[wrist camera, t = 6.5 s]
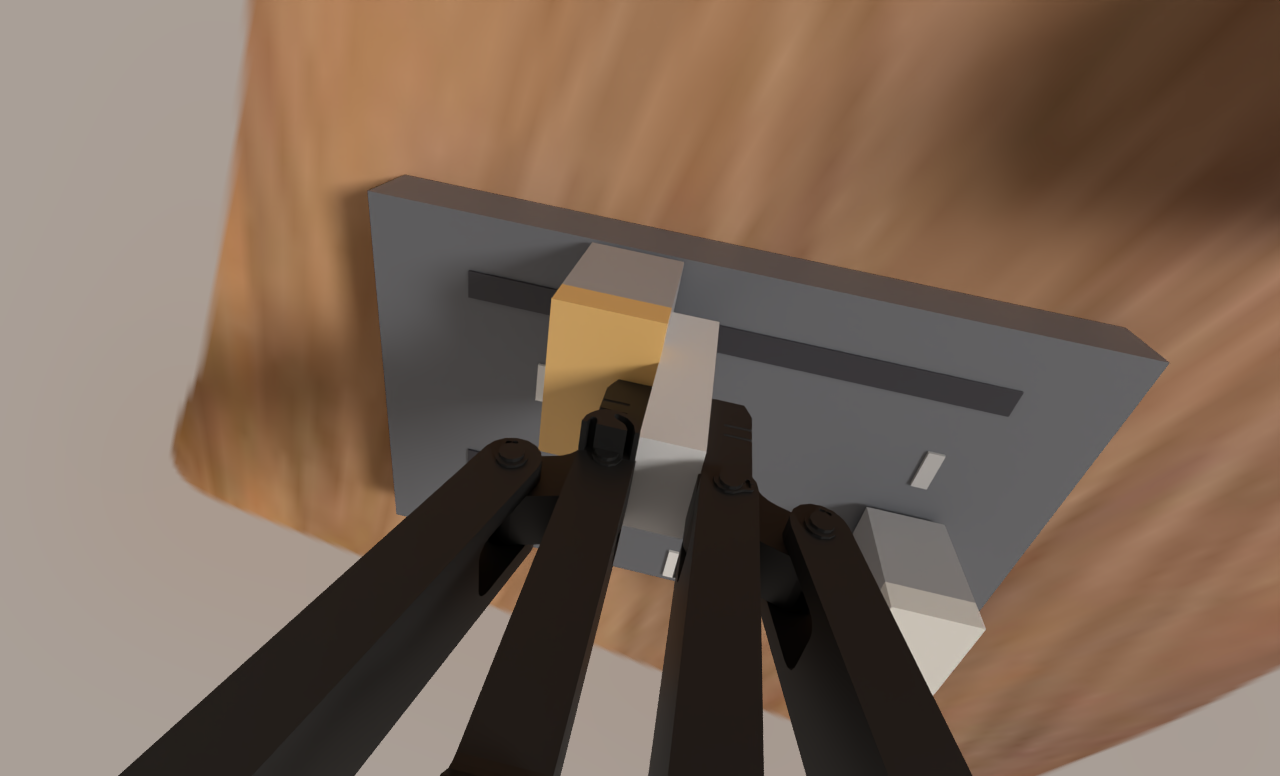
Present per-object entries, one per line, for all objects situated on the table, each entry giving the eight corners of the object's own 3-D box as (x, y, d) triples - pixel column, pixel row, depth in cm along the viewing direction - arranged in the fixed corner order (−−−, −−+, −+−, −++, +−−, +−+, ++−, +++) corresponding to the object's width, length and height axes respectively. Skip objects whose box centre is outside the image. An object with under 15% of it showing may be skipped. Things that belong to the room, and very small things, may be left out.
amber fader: (592, 242, 19) (551, 298, 15) (684, 261, 18) (667, 324, 15) (576, 373, 21) (538, 450, 17) (656, 391, 21) (635, 473, 17)
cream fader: (866, 506, 22) (891, 606, 19) (944, 524, 22) (986, 629, 18) (823, 590, 25) (837, 692, 21) (892, 606, 25) (919, 712, 21)
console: (405, 174, 21) (365, 191, 19) (1125, 327, 20) (1172, 364, 18) (421, 479, 29) (395, 516, 27) (936, 601, 28) (952, 649, 26)
